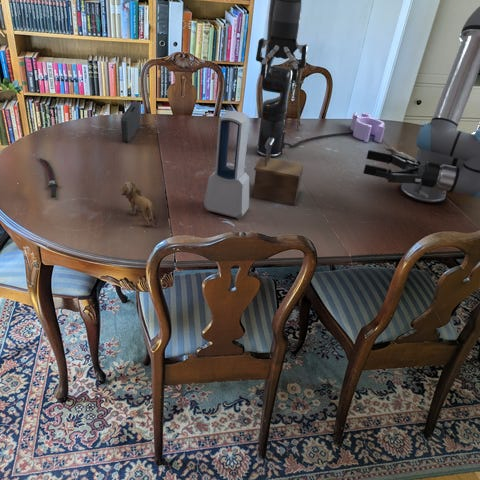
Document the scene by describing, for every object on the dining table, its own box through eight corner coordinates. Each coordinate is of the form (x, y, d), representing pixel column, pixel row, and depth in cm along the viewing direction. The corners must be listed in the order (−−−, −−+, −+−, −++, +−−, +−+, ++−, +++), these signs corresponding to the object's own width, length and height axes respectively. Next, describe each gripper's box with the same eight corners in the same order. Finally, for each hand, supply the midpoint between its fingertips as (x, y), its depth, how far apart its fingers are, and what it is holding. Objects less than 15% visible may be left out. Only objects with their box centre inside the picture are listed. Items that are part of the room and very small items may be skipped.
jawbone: (425, 170, 187) (427, 165, 186) (378, 154, 198) (379, 150, 196) (434, 162, 193) (435, 157, 192) (388, 148, 203) (389, 143, 202)
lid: (254, 170, 148) (257, 143, 143) (260, 158, 156) (263, 133, 151) (299, 178, 146) (303, 152, 141) (303, 166, 154) (307, 141, 149)
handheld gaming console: (134, 123, 200) (133, 100, 195) (140, 124, 200) (140, 100, 195) (121, 142, 181) (119, 117, 175) (128, 143, 181) (127, 118, 175)
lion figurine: (118, 210, 138) (116, 182, 133) (132, 204, 141) (131, 177, 137) (151, 229, 130) (150, 201, 126) (165, 223, 134) (165, 195, 129)
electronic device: (248, 210, 145) (259, 115, 129) (241, 221, 139) (251, 123, 123) (211, 201, 148) (218, 107, 132) (202, 211, 142) (207, 114, 125)
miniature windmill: (298, 130, 211) (309, 61, 195) (279, 127, 212) (289, 59, 196) (300, 124, 219) (311, 57, 203) (282, 121, 220) (292, 55, 204)
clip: (343, 126, 223) (346, 112, 219) (367, 127, 225) (371, 113, 221) (360, 142, 206) (364, 127, 202) (386, 142, 209) (390, 127, 205)
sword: (61, 197, 141) (61, 193, 140) (50, 198, 139) (50, 194, 139) (49, 160, 164) (48, 156, 163) (39, 160, 163) (39, 157, 162)
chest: (252, 197, 153) (255, 170, 148) (258, 184, 161) (262, 159, 156) (294, 205, 151) (299, 178, 146) (298, 192, 159) (303, 166, 154)
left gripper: (258, 17, 126) (251, 78, 135) (310, 24, 124) (300, 86, 132) (263, 14, 132) (257, 73, 141) (313, 21, 130) (303, 80, 139)
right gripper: (435, 204, 131) (359, 187, 135) (431, 173, 152) (365, 159, 156) (444, 179, 127) (366, 163, 132) (438, 151, 148) (371, 138, 152)
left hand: (278, 79), depth 137 cm, fingers open, 8 cm apart
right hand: (365, 161), depth 144 cm, fingers open, 13 cm apart
